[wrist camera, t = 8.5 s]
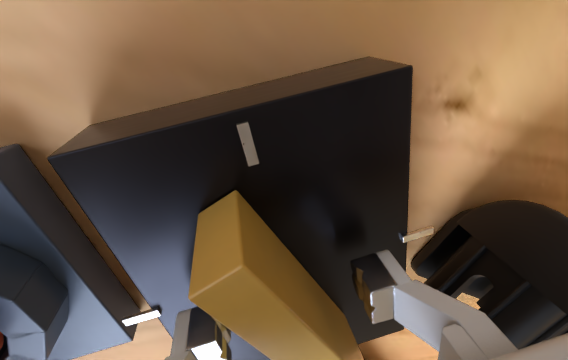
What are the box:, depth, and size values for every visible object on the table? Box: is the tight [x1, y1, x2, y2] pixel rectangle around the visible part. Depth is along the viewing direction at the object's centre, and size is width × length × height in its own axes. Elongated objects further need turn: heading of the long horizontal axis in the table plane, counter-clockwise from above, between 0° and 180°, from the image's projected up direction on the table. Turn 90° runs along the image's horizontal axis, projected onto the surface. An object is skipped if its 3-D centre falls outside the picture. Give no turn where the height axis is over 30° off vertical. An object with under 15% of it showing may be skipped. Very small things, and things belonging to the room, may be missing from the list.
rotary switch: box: [47, 57, 434, 360], centre depth 13 cm, size 14×13×3 cm
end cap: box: [411, 200, 568, 350], centre depth 15 cm, size 10×7×7 cm
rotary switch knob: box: [188, 190, 364, 360], centre depth 10 cm, size 9×2×4 cm, turn 31°
